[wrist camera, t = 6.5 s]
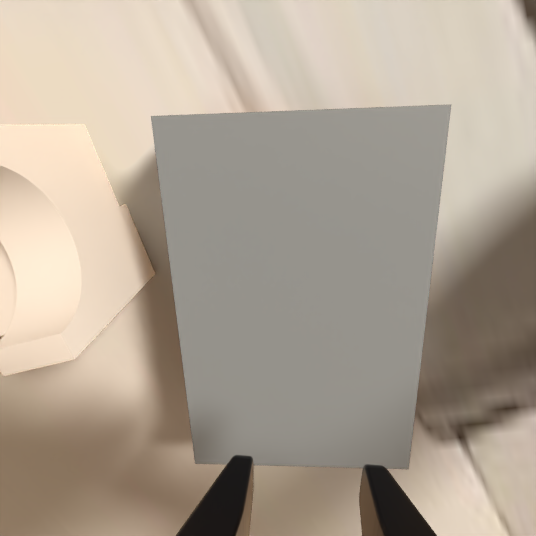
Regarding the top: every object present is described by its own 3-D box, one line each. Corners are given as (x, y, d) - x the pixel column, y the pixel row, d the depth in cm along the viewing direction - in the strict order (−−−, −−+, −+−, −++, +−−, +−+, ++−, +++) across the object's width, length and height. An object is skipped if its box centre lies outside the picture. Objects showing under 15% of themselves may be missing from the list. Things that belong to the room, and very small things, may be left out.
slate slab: (424, 107, 14) (451, 104, 11) (393, 425, 19) (408, 469, 16) (174, 117, 14) (151, 116, 12) (207, 422, 19) (195, 463, 17)
